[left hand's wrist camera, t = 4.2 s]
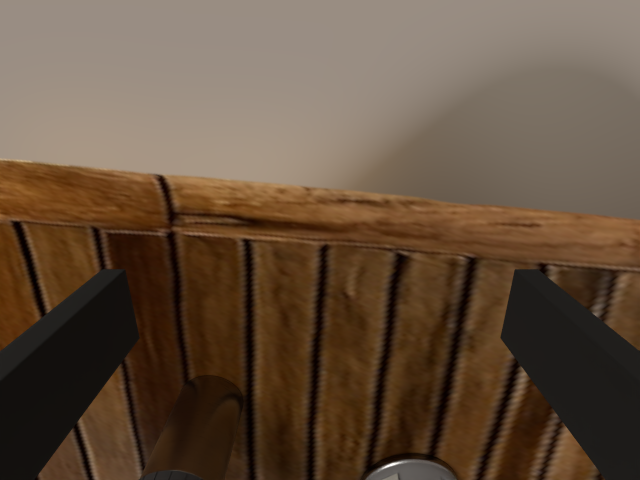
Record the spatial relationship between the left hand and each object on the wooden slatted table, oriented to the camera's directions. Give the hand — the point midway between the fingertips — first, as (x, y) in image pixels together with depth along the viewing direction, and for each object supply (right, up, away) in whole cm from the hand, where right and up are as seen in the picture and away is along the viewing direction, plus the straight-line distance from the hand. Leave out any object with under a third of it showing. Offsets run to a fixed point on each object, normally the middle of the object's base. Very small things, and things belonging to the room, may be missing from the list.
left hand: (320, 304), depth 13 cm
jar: (-15, -19, +38) cm, 45 cm away
